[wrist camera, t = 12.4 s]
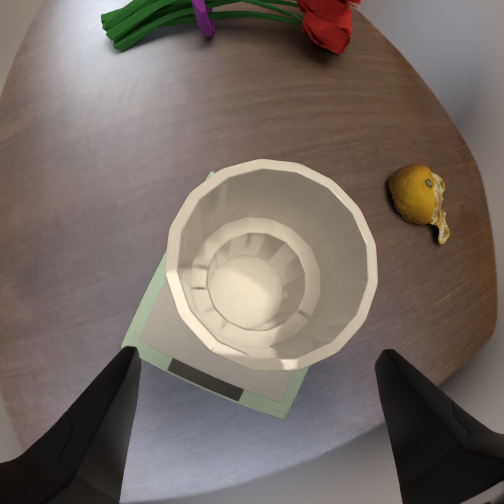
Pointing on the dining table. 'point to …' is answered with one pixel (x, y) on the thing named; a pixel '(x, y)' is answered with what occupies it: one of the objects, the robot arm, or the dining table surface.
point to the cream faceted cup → (271, 265)
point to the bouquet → (183, 3)
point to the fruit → (419, 197)
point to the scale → (203, 355)
